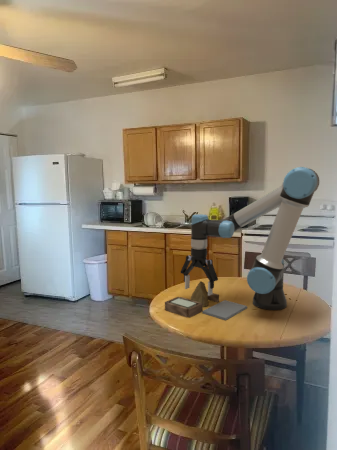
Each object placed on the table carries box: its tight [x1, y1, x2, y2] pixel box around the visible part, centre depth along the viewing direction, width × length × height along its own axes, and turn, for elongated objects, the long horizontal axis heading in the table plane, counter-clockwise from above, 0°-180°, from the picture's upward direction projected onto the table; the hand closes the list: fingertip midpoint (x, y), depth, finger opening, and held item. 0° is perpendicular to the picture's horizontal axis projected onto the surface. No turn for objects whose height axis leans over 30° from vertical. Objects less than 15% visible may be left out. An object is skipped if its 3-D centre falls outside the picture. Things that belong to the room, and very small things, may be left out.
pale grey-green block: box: [171, 298, 196, 309], centre depth 152 cm, size 10×6×4 cm, turn 49°
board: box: [201, 299, 248, 321], centre depth 151 cm, size 12×18×1 cm, turn 138°
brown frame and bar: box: [164, 291, 220, 318], centre depth 157 cm, size 14×25×4 cm, turn 138°
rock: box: [189, 281, 209, 307], centre depth 160 cm, size 11×9×10 cm
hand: (198, 291), depth 160 cm, fingers open, 13 cm apart
